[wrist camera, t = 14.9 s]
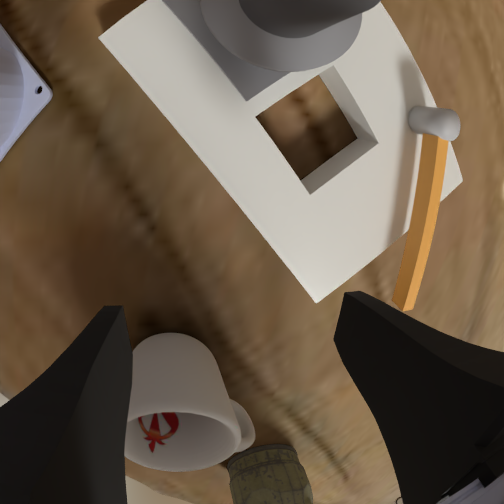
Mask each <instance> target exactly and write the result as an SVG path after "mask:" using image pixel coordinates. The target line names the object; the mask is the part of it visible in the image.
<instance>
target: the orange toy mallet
mask: <svg viewBox="0 0 504 504" xmlns="http://www.w3.org/2000/svg"><path fill="white" fill-rule="evenodd" d="M408 120H409V125H410V128H411V129H412V131H413V132H415V133H417V134H421V135H423V136H422V146H421V155H420V163H419V171H418V178H417V185H416V191H415V198H414V204H413V209H412V215H411V220H410V226H409V231H408V236H407V240H406V245H405V250H404V254H403V258H402V263H401V267H400V271H399V275H398V279H397V283H396V287H395V291H394V294H393V298H392V301H393V302H394V303H395V304H396V305H397V306H398V307H399V308H400V309H401V310H402V311H407V310H412V309H413V307H414V304H415V300H416V297H417V294H418V291H419V287H420V284H421V280H422V277H423V273H424V269H425V266H426V262H427V258H428V254H429V250H430V246H431V242H432V237H433V233H434V228H435V224H436V219H437V214H438V209H439V203H440V198H441V192H442V186H443V180H444V173H445V166H446V159H447V151H448V142H449V141H453V140H455V139H456V138H457V137H458V135H459V132H460V120H459V117H458V115H457V113H456V112H455V111H453V110H451V109H444V108H435V107H426V106H415V107H413V108H412V109H411V111H410V113H409V117H408Z"/></svg>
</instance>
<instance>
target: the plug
mask: <svg viewBox="0 0 504 504" xmlns="http://www.w3.org/2000/svg"><path fill="white" fill-rule="evenodd" d="M380 1H381V0H200V7H201V12H202V15H203V18H204V20H205V23H206V25H207V26H208V28H209V30H210V31H211V33H212V34H213V36H214V37H215V38H216V39H217V40H218V41H219V43H220V44H221V45H222V46H223V47H225V48H226V49H227V50H228V51H229V52H231V53H232V54H234V55H235V56H237V57H238V58H240V59H242V60H244V61H246V62H248V63H250V64H252V65H255V66H257V67H260V68H264V69H268V70H272V71H279V72H299V71H306V70H310V69H315V68H318V67H321V66H324V65H327V64H329V63H331V62H333V61H335V60H336V59H338V58H339V57H341V56H342V55H343V54H344V53H345V52H346V51H347V50H348V49H349V48H350V47H351V45H352V44H353V43H354V41H355V39H356V37H357V36H358V33H359V30H360V27H361V22H362V13H363V12H365V11H368V10H370V9H372V8H373V7H375V6H376V5H377V4H378V3H379V2H380Z"/></svg>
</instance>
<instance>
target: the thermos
mask: <svg viewBox="0 0 504 504" xmlns="http://www.w3.org/2000/svg"><path fill="white" fill-rule="evenodd" d="M227 469H228V472H229V475H230V484H229V485H230V489H231V494H232V499H233V503H234V504H313V495H312V490H311V486H310V483H309V480H308V478H307V475H306V472H305V470H304V467H303V466H302V465H301V464H300V462H299V459H298V457H297V452H296V450H295V449H294V448H293V447H291V446H288V445H281V444H272V445H263V446H259V447H255V448H251V449H249V450H246V451H243V452H241V453H239V454H238V455H236V456H234V457H233V458H232V459H231V460H230V461H229V462H228V465H227Z"/></svg>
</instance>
